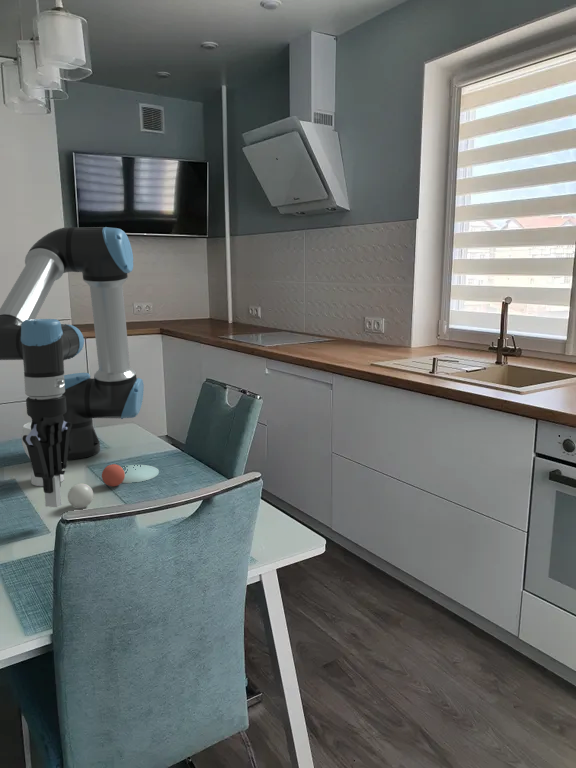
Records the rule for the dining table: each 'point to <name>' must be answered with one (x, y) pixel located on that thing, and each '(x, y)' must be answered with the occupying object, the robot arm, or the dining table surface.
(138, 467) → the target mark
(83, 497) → the cue ball
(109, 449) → the dining table surface
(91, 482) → the dining table surface
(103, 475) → the object ball
